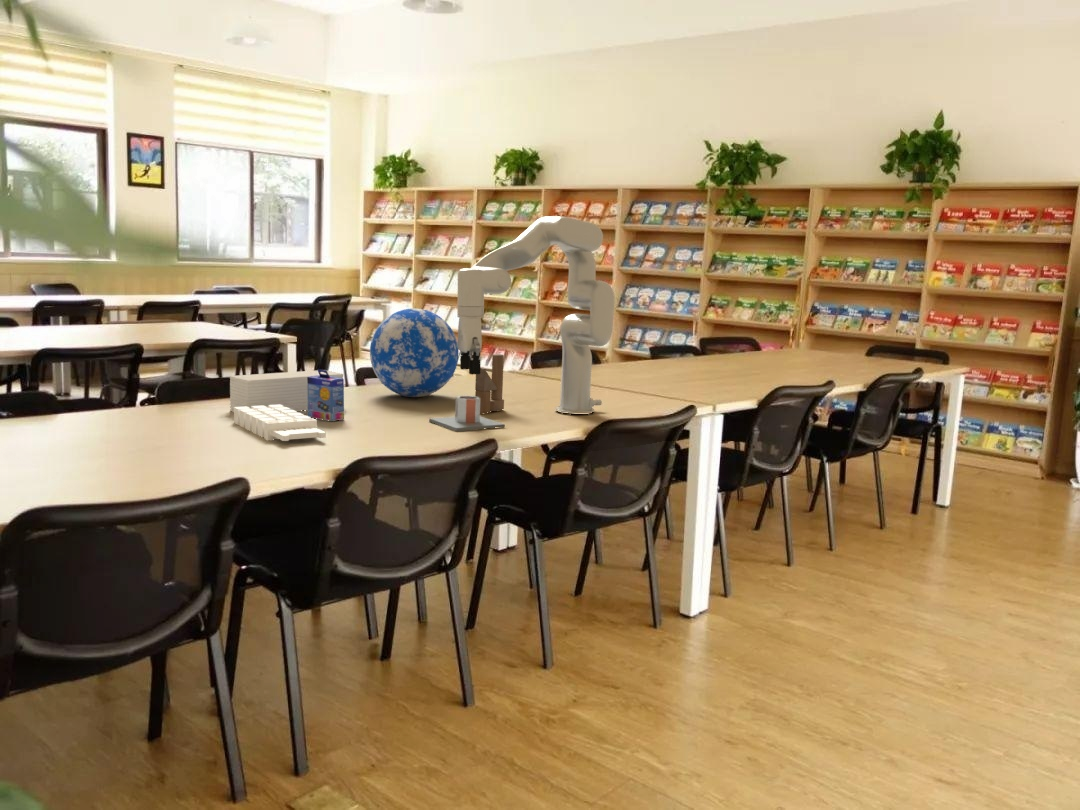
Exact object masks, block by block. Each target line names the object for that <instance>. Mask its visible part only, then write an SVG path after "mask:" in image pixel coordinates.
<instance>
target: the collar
mask: <svg viewBox="0 0 1080 810" xmlns="http://www.w3.org/2000/svg"><path fill="white" fill-rule="evenodd" d="M454 411H455V413H454V417H455V421H456V422H458V423H478V422H480V416H481V414H480V398H479V397H476V396H475V395H474V396H473V395H459V396H458V395H457V396H455V410H454Z"/></svg>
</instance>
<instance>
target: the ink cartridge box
mask: <svg viewBox="0 0 1080 810" xmlns="http://www.w3.org/2000/svg"><path fill="white" fill-rule="evenodd" d="M317 370H318V373H319V375H317V376H309V377H307V390H308V411H307V416H308V417H312V418H317V419H316V420H319V419H323V420H322V421H324V420H329V421H333V422H336V421H335V420H339V421H344V420H345V388H344V387H345V384H344V382H345V381H344V380H345V379H344V377H343V378H337V377H330V376H329V374H328V372H327V371H328V370H327V371H326V369H317ZM320 372H324V373H326V374H321V373H320ZM312 418H311V419H312ZM343 419H344V420H343ZM329 421H328V422H329Z"/></svg>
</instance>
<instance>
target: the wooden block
mask: <svg viewBox="0 0 1080 810" xmlns="http://www.w3.org/2000/svg"><path fill="white" fill-rule="evenodd" d="M504 358H505V355H504V354H501V353H494V354H492V356H491V360H492V361H491V375H489V373H488V371H487V370H486V369H485V368H480V374H475V384H474V385H475V389H474V390H475V395H474V396H476V397H479V398H480V413H487V412H490V411H497V410H502V409H505V399H504V398H503V387H504V386H503V385H504V384H503V383H504V363H505V362H504ZM490 376H491V377H490ZM497 412H498V411H497ZM490 413H491V412H490Z"/></svg>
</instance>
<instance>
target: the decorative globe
mask: <svg viewBox="0 0 1080 810" xmlns="http://www.w3.org/2000/svg"><path fill="white" fill-rule="evenodd" d="M457 343H458V339H457V336H456V334H455V333H454V331H453V329H452V328H451V326H450V325H449V324H448V323H447V321H445V320H444V319H443V318H442V317H441V316H439V315H438V314H436V313H434V312H432V311H430V310H427V309H424V308H414V307H413V308H405V309H402V310H398V311H396V312H393V313H392V314H390V315H389V316H387V317H386V318H385V319H383V320H382V322H380V324H379V325H378V326H377V327H376V330H375V332H374V333H373V336H372V338H371V342H370V345H369V358H370V359H369V361H370V364H371V367H372V370H373V372H374V374H375V375H376V377H377V379H378V380H379V382H380V383H381V384H383V386H384V387H386V388H387V389H388V390H390V391H391V392H393V393H395V394H396V395H397V394H398V395H400V396H403V397H407V398H421V397H426V396H429V395H432V394H434V393H436V392H438V391H439V390H441V389H442V388H443V387H444V386H446V384H447V383H448V382H449V381H450V380H451V379H452V377H453V375H454V373H456V369H457V366H458V362H459V355H460V353H459V351H460V350H459V349H458V347H457Z"/></svg>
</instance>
